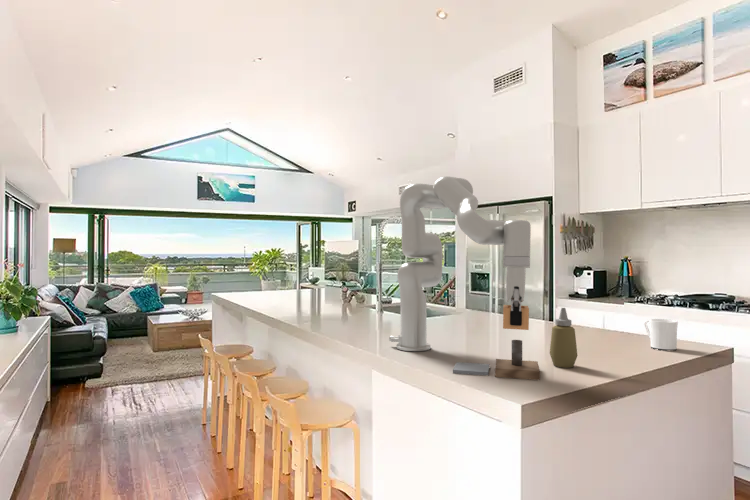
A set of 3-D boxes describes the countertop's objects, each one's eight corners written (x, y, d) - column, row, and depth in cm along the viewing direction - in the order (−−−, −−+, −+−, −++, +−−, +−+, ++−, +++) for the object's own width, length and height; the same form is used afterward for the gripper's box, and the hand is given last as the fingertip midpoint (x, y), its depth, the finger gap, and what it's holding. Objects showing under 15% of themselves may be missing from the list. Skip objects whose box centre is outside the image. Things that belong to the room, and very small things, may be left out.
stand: (495, 377, 136) (495, 343, 136) (496, 367, 147) (496, 336, 147) (539, 380, 132) (539, 345, 132) (537, 369, 144) (537, 338, 144)
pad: (452, 373, 140) (452, 369, 140) (456, 365, 149) (456, 362, 149) (488, 375, 137) (488, 372, 137) (489, 367, 147) (489, 364, 147)
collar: (503, 328, 138) (503, 307, 138) (503, 324, 144) (503, 304, 144) (528, 330, 136) (528, 308, 136) (527, 325, 143) (528, 305, 142)
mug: (681, 349, 173) (681, 320, 174) (672, 352, 168) (672, 323, 168) (649, 344, 182) (649, 317, 182) (639, 347, 177) (639, 319, 177)
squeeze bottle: (544, 366, 148) (544, 308, 149) (556, 361, 154) (556, 305, 154) (570, 370, 143) (570, 310, 143) (581, 366, 148) (581, 308, 148)
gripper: (503, 261, 149) (502, 318, 149) (502, 263, 132) (501, 327, 133) (528, 261, 147) (528, 319, 147) (531, 263, 130) (530, 329, 131)
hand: (515, 322), depth 140 cm, fingers closed on collar, 7 cm apart
